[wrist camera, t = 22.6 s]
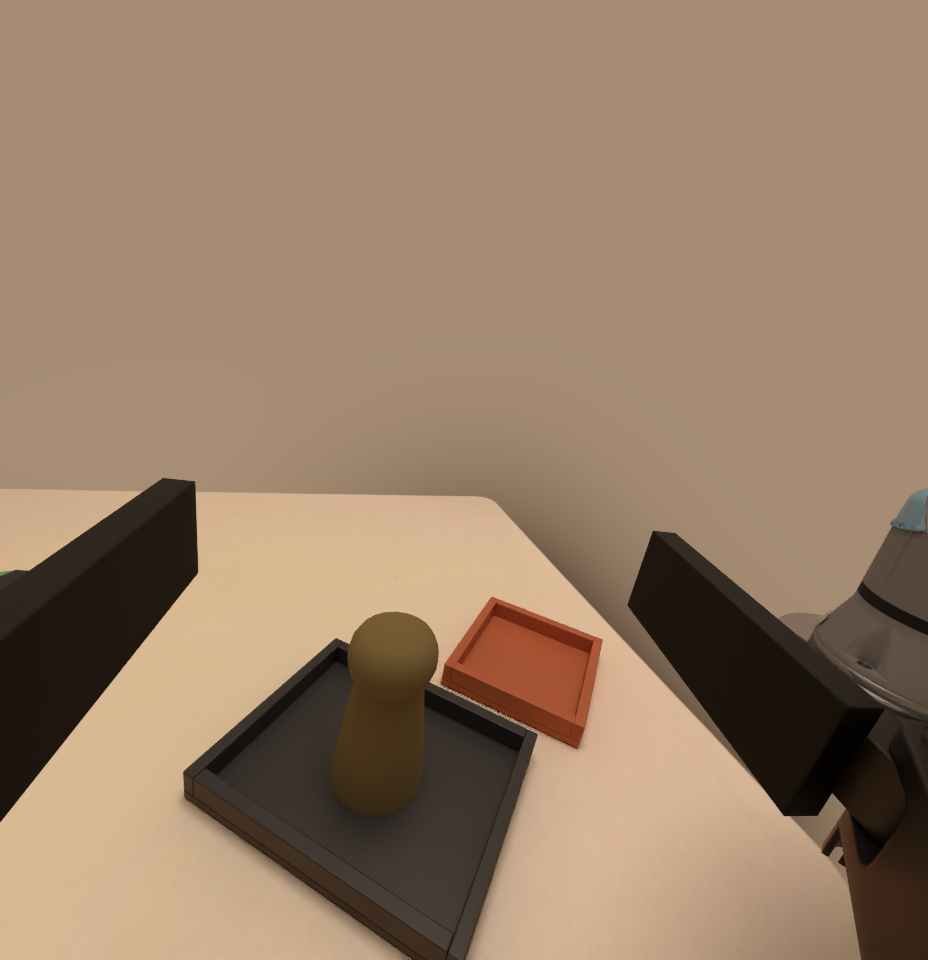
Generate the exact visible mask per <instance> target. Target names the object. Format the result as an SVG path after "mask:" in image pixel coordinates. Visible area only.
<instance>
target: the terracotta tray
mask: <svg viewBox="0 0 928 960" xmlns="http://www.w3.org/2000/svg"><path fill="white" fill-rule="evenodd" d="M601 645H602V639H600V638H597V637H594V636H592V635H589V634H587V633H584V632H581V631H579V630H576V629H574V628H571V627H569V626H566V625H563V624H561V623H558V622H556V621H553V620H551V619H548V618H545V617H543V616H540V615H538V614H535V613H533V612H530V611H527V610H525V609H522V608H520V607H517V606H515V605H512V604H509V603H507V602H504V601H502V600H498V599H497V598H494V597H491V598H490V600H489V601H488V603H487V604H486V605H485V607H484V608H483V610H482V611H481V613H480V614H479V615H478V617H477V618H476V620H475V621H474V623H473V624H472V626H471V627H470V628H469V630H468V631H467V633H466V634H465V636H464V637H463V638H462V640H461V641H460V643H459V644H458V646H457V647H456V648H455V650H454V651H453V653H452V654H451V656H450V657H449V659H448V660H447V661H446V663H445V665H444V670H443V675H442V680H441V684H443V685H445V686H447V687H449V688H452V689H454V690H456V691H458V692H460V693H462V694H464V695H466V696H468V697H471V698H473V699H475V700H477V701H479V702H481V703H483V704H485V705H487V706H490V707H492V708H494V709H496V710H498V711H500V712H502V713H504V714H506V715H509V716H511V717H513V718H515V719H517V720H519V721H521V722H523V723H525V724H528V725H530V726H532V727H534V728H536V729H538V730H540V731H542V732H544V733H546V734H549V735H551V736H553V737H555V738H557V739H559V740H561V741H563V742H565V743H568V744H570V745H572V746H574V747H576V748H578V746H579V743H580V740H581V737H582V734H583V732H584V729H585V724H586V719H587V714H588V709H589V704H590V699H591V694H592V690H593V685H594V680H595V675H596V670H597V665H598V660H599V655H600V650H601Z"/></svg>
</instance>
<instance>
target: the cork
mask: <svg viewBox="0 0 928 960" xmlns="http://www.w3.org/2000/svg"><path fill="white" fill-rule="evenodd" d="M438 653H439V651H438V644H437V641H436V638H435V635H434V633H433V631H432V630H431V629H430V627H429V626H428V625H427V624H426V623H425V622H424V621H422V620H421V619H419V618H418V617H415V616H413V615H410V614H407V613H400V612H385V613H381V614H377V615H374V616H372V617H371V618H369V619H367V620H366V621H365V622H364V623H363V624H362V625H361V626H360V627H359V628H358V629H357V630H356V631H355V632H354V635H353V637H352V640H351V642H350V645H349V648H348V668H349V672H350V676H351V677H352V679H353V681H354V682H353V685H352V689H351V692H350V696H349V699H348V703H347V707H346V710H345V714H344V717H343V721H342V724H341V728H340V732H339V735H338V739H337V742H336V746H335V749H334V753H333V756H332V760H331V764H330V767H329V779H330V785H331V787H332V790H333V792H334V795H335V796H336V798H337V799H338V800H339V801H340V802H341V803H342V804H343V805H344V806H345V807H346V808H348V809H350V810H352V811H354V812H356V813H358V814H361V815H369V816H380V815H385V814H390V813H393V812H394V811H396V810H398V809H400V808H402V807H403V806H405V805H406V804H407V803H408V802H409V801H410V800H411V799H412V798H413V797H414V796H415V795H416V793H417V791H418V788H419V786H420V784H421V782H422V776H423V766H424V692H425V687H427V685H428V683H429V682H430V680H431V678H432V676H433V674H434V673H435V671H436V667H437V662H438Z"/></svg>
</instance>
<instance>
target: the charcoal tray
mask: <svg viewBox="0 0 928 960" xmlns="http://www.w3.org/2000/svg"><path fill="white" fill-rule="evenodd" d="M349 645H350V644H348V643H346V642H343V641H341V640H339V639H337V638H336V639H334V640H333V641H332V642H331V643H330V644H329V645H328V646H326V647H325V648H324V649H323V650H322V651H321V652H320V653H318V654H317V655H316V656H315V657H314V658H313V659H312V660H310V661H309V662H308V663H307V664H306V665H305V666H304V667H302V668H301V669H300V670H299V671H298V672H297V673H296V674H294V675H293V676H292V677H291V678H290V679H289V680H288V681H286V682H285V683H284V684H283V685H282V686H281V687H280V688H278V689H277V690H276V691H275V692H274V693H273V694H272V695H270V696H269V697H268V698H267V699H266V700H265V701H263V702H262V703H261V704H260V705H259V706H258V707H257V708H255V709H254V710H253V711H252V712H251V713H250V714H249V715H247V716H246V717H245V718H244V719H243V720H242V721H241V722H239V723H238V724H237V725H236V726H235V727H234V728H233V729H231V730H230V731H229V732H228V733H227V734H226V735H225V736H223V737H222V738H221V739H220V740H219V741H218V742H217V743H215V744H214V745H213V746H212V747H211V748H210V749H209V750H207V751H206V752H205V753H204V754H203V755H202V756H201V757H199V758H198V759H197V760H196V761H195V762H194V763H193V764H191V765H190V766H189V767H188V768H187V769H186V770H185V771H184V772H183V777H184V796H185V798H187V799H188V800H190V801H191V802H192V803H194V804H195V805H197V806H198V807H200V808H201V809H202V810H204V811H205V812H207V813H208V814H209V815H211V816H212V817H214V818H215V819H216V820H218V821H219V822H221V823H222V824H223V825H225V826H226V827H228V828H229V829H231V830H232V831H233V832H235V833H236V834H238V835H239V836H240V837H242V838H243V839H245V840H246V841H247V842H249V843H250V844H252V845H253V846H255V847H256V848H257V849H259V850H260V851H262V852H263V853H264V854H266V855H267V856H269V857H270V858H271V859H273V860H274V861H276V862H277V863H278V864H280V865H281V866H283V867H284V868H286V869H287V870H288V871H290V872H291V873H293V874H294V875H295V876H297V877H298V878H300V879H301V880H302V881H304V882H305V883H307V884H308V885H309V886H311V887H312V888H314V889H315V890H317V891H318V892H319V893H321V894H322V895H324V896H325V897H326V898H328V899H329V900H331V901H332V902H333V903H335V904H336V905H338V906H339V907H341V908H342V909H343V910H345V911H346V912H348V913H349V914H350V915H352V916H353V917H355V918H356V919H357V920H359V921H360V922H362V923H363V924H364V925H366V926H367V927H369V928H370V929H372V930H373V931H374V932H376V933H377V934H379V935H380V936H381V937H383V938H384V939H386V940H387V941H388V942H390V943H391V944H393V945H394V946H395V947H397V948H398V949H400V950H401V951H403V952H404V953H405V954H407V955H408V956H410V957H411V958H412V959H414V960H466V957H467V954H468V951H469V948H470V945H471V942H472V939H473V936H474V932H475V929H476V926H477V923H478V920H479V917H480V914H481V911H482V908H483V904H484V901H485V898H486V895H487V892H488V889H489V886H490V883H491V880H492V876H493V873H494V870H495V867H496V864H497V861H498V858H499V855H500V852H501V848H502V845H503V842H504V839H505V836H506V833H507V830H508V827H509V824H510V820H511V817H512V814H513V811H514V808H515V805H516V802H517V799H518V796H519V792H520V789H521V786H522V783H523V780H524V777H525V774H526V771H527V768H528V764H529V761H530V758H531V755H532V752H533V748H534V745H535V742H536V738H537V734H536V733H534V732H532V731H530V730H527V729H526V728H524V727H522V726H519V725H517V724H515V723H513V722H511V721H509V720H507V719H505V718H503V717H501V716H498V715H496V714H494V713H492V712H490V711H488V710H486V709H484V708H482V707H480V706H478V705H475V704H473V703H471V702H469V701H467V700H465V699H463V698H461V697H459V696H457V695H455V694H452V693H450V692H448V691H446V690H444V689H442V688H440V687H438V686H436V685H434V684H432V683H428V685H427V687H425V692H424V766H423V776H422V782H421V784H420V786H419V788H418V791H417V793H416V795H415V796H414V797H413V798H412V799H411V800H410V801H409V802H408V803H407V804H406V805H405V806H403V807H402V808H400V809H398V810H396V811H394V812H393V813H390V814H385V815H380V816H369V815H361V814H358V813H356V812H354V811H352V810H350V809H348V808H346V807H345V806H344V805H343V804H342V803H341V802H340V801H339V800H338V799H337V798H336V796H335V795H334V792H333V790H332V787H331V785H330V779H329V767H330V764H331V760H332V756H333V753H334V749H335V746H336V742H337V739H338V735H339V732H340V728H341V724H342V721H343V717H344V714H345V710H346V707H347V703H348V699H349V696H350V692H351V689H352V685H353V682H354V681H353V679H352V677H351V676H350V672H349V668H348V648H349Z"/></svg>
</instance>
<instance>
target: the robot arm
mask: <svg viewBox="0 0 928 960" xmlns="http://www.w3.org/2000/svg"><path fill="white" fill-rule="evenodd" d="M890 524H891V525H892V528H891V530H890V531H889V533H888V535H887V537H886V538H885V540H884V542H883V544H882V546H881V547H880V549H879V551H878V553H877V554H876V556H875V558H874V560H873V562H872V563H871V565H870V567H869V569H868V570H867V572H866V574H865V576H864V578H863V580H862V582H861V583H860V585H859V587H858V589H857V591H856V592H855V594H854V595H853V596H852V597H850V598H849V599H848V600H847V601H845V602H844V603H843V604H841V605H840V606H839V607H838V608H837V609H835V610H834V611H833V612H831V613H830V611H831V610H830V611H829V612H827V613H826V614H825V615H824V616H823V617H822V619H821V620H820V622H819V623H818V624H817V625H816V627H815V628H814V630H813V632H812V634H811V636H810V644H809V643H807V642H806V641H805V640H804V639H803V638H801V637H799V636H798V635H796V634H795V633H794V632H793V631H792V630H790V629H789V628H788V627H787V626H786V625H784V624H783V623H782V622H781V621H780V620H778V619H777V618H776V617H775V616H774V615H772V614H771V613H770V612H769V611H768V610H766V609H765V608H764V607H763V606H762V605H761V604H759V603H758V602H757V601H756V600H754V599H753V598H752V597H751V596H750V595H749V594H747V593H746V592H745V591H744V590H742V589H741V588H740V587H739V586H738V585H737V584H735V583H734V582H733V581H732V580H731V579H729V578H728V577H727V576H726V575H725V574H723V573H722V572H721V571H720V570H719V569H717V568H716V567H715V566H714V565H713V564H712V563H710V562H709V561H708V560H706V558H704V557H703V556H702V555H700V553H698V552H697V551H696V550H695V549H694V548H692V547H691V546H690V545H689V544H688V543H686V542H685V541H684V540H683V539H682V538H680V537H679V536H678V535H677V534H676V533H669V532H659V531H653V532H652V535H651V538H650V541H649V544H648V547H647V550H646V553H645V556H644V559H643V561H642V564H641V567H640V570H639V573H638V576H637V579H636V582H635V584H634V588H633V590H632V593H631V596H630V599H629V602H628V607H629V608H630V609H631V611H632V612H633V614H634V615H635V616H636V617H637V619H638V620H639V622H640V623H641V624H642V626H643V627H644V628H645V630H646V631H647V632H648V634H649V635H650V636H651V638H652V639H653V640H654V642H655V643H656V644H657V646H658V647H659V649H660V650H661V651H662V653H663V654H664V655H665V657H666V658H667V659H668V661H669V662H670V663H671V665H672V666H673V667H674V668H675V670H676V671H677V673H678V674H679V675H680V677H681V678H682V679H683V681H684V682H685V683H686V685H687V686H688V687H689V689H690V690H691V692H692V693H693V694H694V696H695V697H696V698H697V700H698V701H699V702H700V704H701V705H702V706H703V708H704V709H705V710H706V712H707V713H708V714H709V716H710V717H711V718H712V720H713V721H714V723H715V724H716V725H717V727H718V728H719V729H720V731H721V732H722V733H723V734H724V736H725V737H726V739H727V740H728V741H729V743H730V744H731V745H732V747H733V748H734V750H735V751H736V752H737V753H738V755H739V756H740V758H741V759H742V760H743V761H744V763H745V764H746V765H747V767H748V768H749V770H750V771H751V772H752V774H753V775H754V776H755V778H756V779H757V780H758V782H759V783H760V785H761V786H762V787H763V789H764V790H765V791H766V793H767V794H768V795H769V797H770V798H771V799H772V801H773V802H774V803H775V805H776V806H777V807H778V809H779V810H780V811H781V813H782V814H783V815H784V816H818V814H819V813H820V811H821V809H822V808H823V806H824V805H825V803H826V802H827V800H828V799H829V797H830V795H831V794H832V793H833V794H834V795H835V796H836V798H837V799H838V800H839V801H840V802H841V803H842V804H843V805H844V807H845V808H846V810H845V811H844V813H843V814H842V816H841V818H840V819H839V820H838V822H837V824H836V825H835V827H834V828H833V830H832V831H831V833H830V834H829V836H828V837H827V839H826V840H825V842H824V843H823V846H822V852H821V853H823V854H824V855H826V856H828V857H829V855H830V854H831V852H832V851H833V849H834V848H835V847H838V846H839V847H842V848H843V853H844V854H843V855H842V857H841V858H840V860H839V863H840V864H841V865H843V866H845V867H846V872H847V877H848V883H849V889H850V895H851V901H852V907H853V913H854V919H855V925H856V931H857V937H858V943H859V949H860V955H861V960H928V488H927V489H922V490H919V491H917V492H915V493H913V494H912V495H911V496H910V497H909V498H908V499H907V501H906V503H905V504H904V506H903V507H902V509H901V510H900V512H899V514H898V515H897V517H896V518H894V519H893V520H892V521H891V523H890ZM197 573H198V551H197V521H196V491H195V481H186V480H176V479H167V478H162V479H161V480H160V481H158V482H157V483H155V484H154V485H152V486H151V487H149V488H148V489H147V490H145V491H144V492H142V493H141V494H139V495H138V496H136V497H135V498H134V499H132V500H131V501H129V502H128V503H126V504H125V505H123V506H122V507H121V508H119V509H118V510H116V511H115V512H113V513H112V514H110V515H109V516H108V517H106V518H105V519H103V520H102V521H100V522H99V523H97V524H96V525H95V526H93V527H92V528H90V529H89V530H87V531H86V532H84V533H83V534H82V535H80V536H79V537H77V538H76V539H74V540H73V541H71V542H70V543H69V544H67V545H66V546H64V547H63V548H61V549H60V550H58V551H57V552H56V553H54V554H53V555H51V556H50V557H48V558H47V559H45V560H44V561H43V562H41V563H40V564H38V565H37V566H35V567H34V568H32V569H31V570H30V571H23V570H14V571H12V572H9V573H7V574H4V575H2V576H0V822H1V821H2V819H3V818H4V817H5V816H6V814H7V813H8V812H9V811H10V809H11V808H12V807H13V806H14V804H15V803H16V802H17V801H18V799H19V798H20V797H21V795H22V794H23V793H24V792H25V790H26V789H27V788H28V787H29V785H30V784H31V783H32V782H33V780H34V779H35V778H36V777H37V775H38V774H39V773H40V772H41V770H42V769H43V768H44V766H45V765H46V764H47V763H48V761H49V760H50V759H51V758H52V756H53V755H54V754H55V753H56V751H57V750H58V749H59V748H60V746H61V745H62V744H63V743H64V741H65V740H66V739H67V737H68V736H69V735H70V734H71V732H72V731H73V730H74V729H75V727H76V726H77V725H78V724H79V722H80V721H81V720H82V719H83V717H84V716H85V715H86V714H87V712H88V711H89V710H90V708H91V707H92V706H93V705H94V703H95V702H96V701H97V700H98V698H99V697H100V696H101V695H102V693H103V692H104V691H105V690H106V688H107V687H108V686H109V684H110V683H111V682H112V681H113V679H114V678H115V677H116V676H117V674H118V673H119V672H120V671H121V669H122V668H123V667H124V666H125V664H126V663H127V662H128V661H129V659H130V658H131V657H132V655H133V654H134V653H135V652H136V650H137V649H138V648H139V647H140V645H141V644H142V643H143V642H144V640H145V639H146V638H147V637H148V635H149V634H150V633H151V632H152V630H153V629H154V628H155V626H156V625H157V624H158V623H159V621H160V620H161V619H162V618H163V616H164V615H165V614H166V613H167V611H168V610H169V609H170V608H171V606H172V605H173V604H174V602H175V601H176V600H177V599H178V597H179V596H180V595H181V594H182V592H183V591H184V590H185V589H186V587H187V586H188V585H189V584H190V582H191V581H192V580H193V579H194V577H195V576H196V575H197ZM829 613H830V614H829ZM828 614H829V615H828ZM879 702H880V703H879ZM881 703H882V704H884V705H886V706H888V707H890V708H892V709H894V710H896V711H898V712H901V713H903V714H905V715H908V716H910V717H913V718H915V719H918V720H921V721H916V720H908V721H905V722H902V721H901V720H900V719H899V718H897V717H896V716H895V715H894V714H893V713H891V712H890V711H889V710H888V709H887V708H885V707H884V706H883V705H882V704H881ZM923 721H924V722H923ZM925 722H927V723H925Z"/></svg>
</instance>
